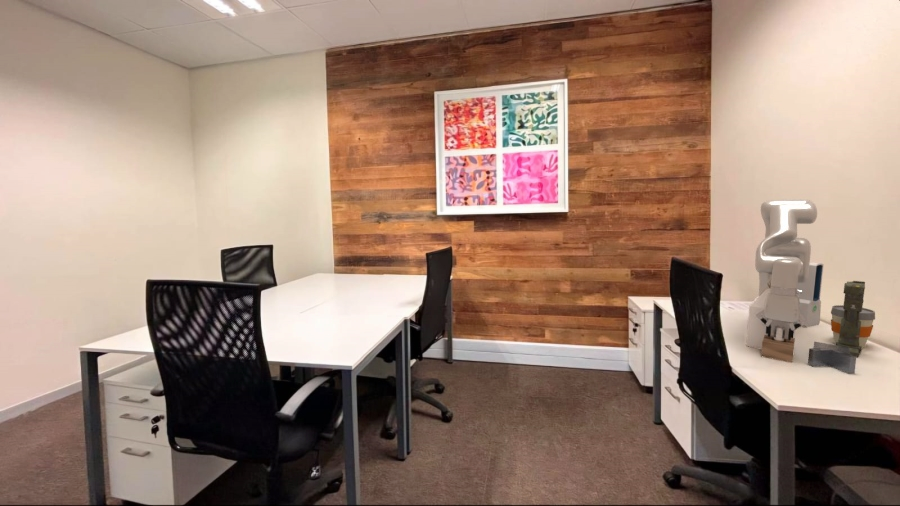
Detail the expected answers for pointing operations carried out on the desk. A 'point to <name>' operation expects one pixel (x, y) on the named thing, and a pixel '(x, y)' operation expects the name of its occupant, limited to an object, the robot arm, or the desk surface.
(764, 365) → the desk surface
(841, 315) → the reusable coffee cup
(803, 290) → the electronic device
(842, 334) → the mechanical leg
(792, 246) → the robot arm
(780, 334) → the axle
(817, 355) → the v block
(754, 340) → the gable box
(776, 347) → the beam
